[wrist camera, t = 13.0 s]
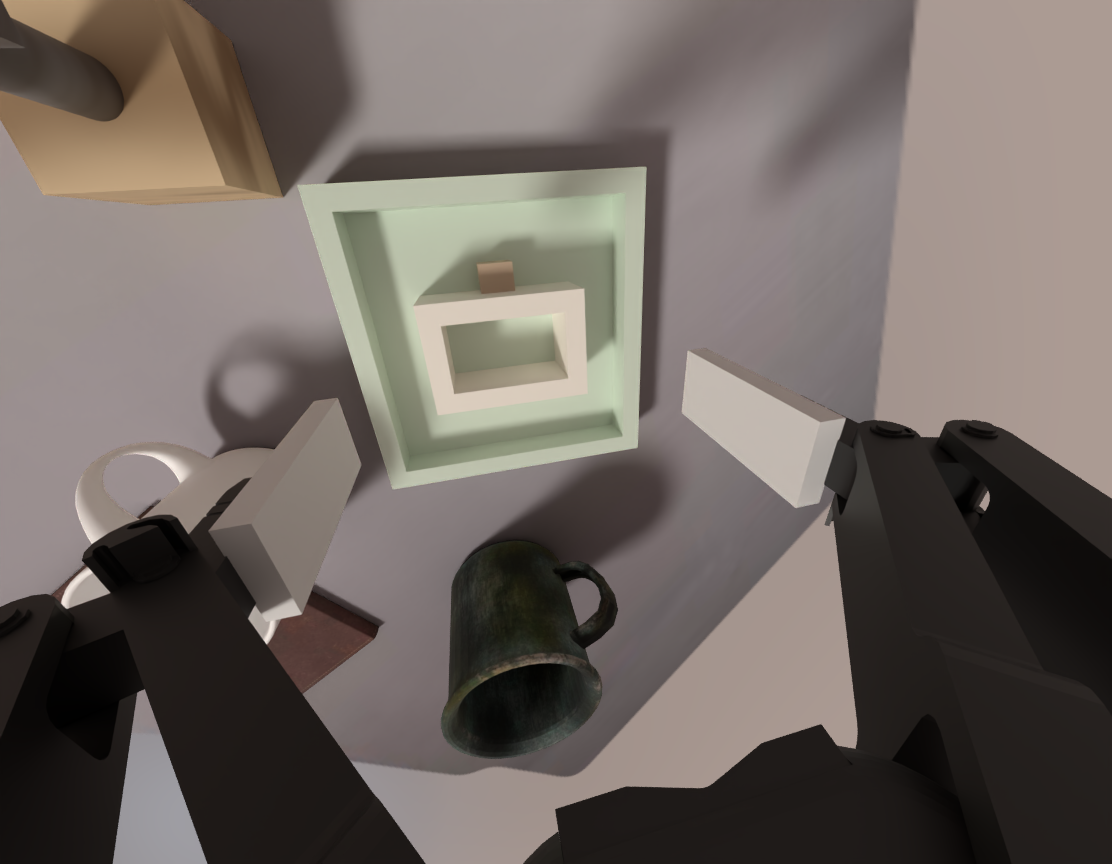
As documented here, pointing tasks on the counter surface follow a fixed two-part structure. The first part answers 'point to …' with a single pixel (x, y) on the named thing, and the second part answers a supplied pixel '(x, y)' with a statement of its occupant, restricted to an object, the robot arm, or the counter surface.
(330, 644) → the notebook
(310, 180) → the counter surface
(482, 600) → the mug
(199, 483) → the mug
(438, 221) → the tray
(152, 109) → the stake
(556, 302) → the ring
